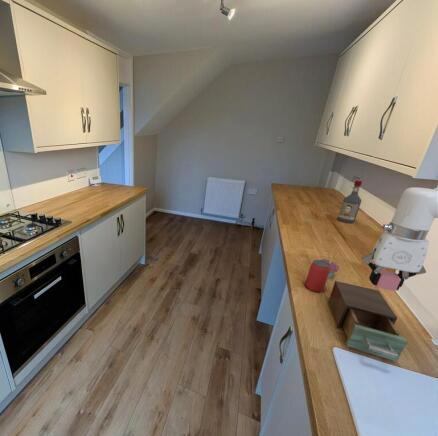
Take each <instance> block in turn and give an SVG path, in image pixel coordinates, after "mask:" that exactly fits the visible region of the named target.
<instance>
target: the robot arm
mask: <svg viewBox="0 0 438 436" xmlns="http://www.w3.org/2000/svg"><path fill="white" fill-rule="evenodd" d="M435 219H438V186H437V187H434V188H433V189H432V188H427V187H407V188H406V189H404V190H403V192H402V193H401V196H400V199H399V201H398V204H397V207H396V208H395V212H394V214H393V217H392V219H391V221H390V222H389V223H388V224H385V223H384V224H382V230H383V231H384V232H383V233H382V234H381V235H380V236H379V238H378V239H377V241H376V243H375V245H374V247H373V248H372V251H371V252H370V253H368V254H366V255H364V256H363V257H361V261H363V263H364V264H366V265H367V266H368V267H369V268H370V269H371V272H370V274H369V277H368V279H369V281H370V282H371V284H372V285H373V286H376V284H377V282H378V280H379V277H380V274H379V272H380V271H381V270H382V269H383V268H385V269H391V270H396V271H398V273H396V274H397V275H398V276H399V277H400V278H401V281H400V283H399V285H398V287H397V289H396V291H399V289H400V288H402V287H403V284H404V283H405V281H406V280H409V278H412V277H415V276H418V275H423V274H426V273H427V270H426V268H425V267H424V263H425V260H426V257H427V254H428V250H429V249H428V248H429V240H428V239H426V238H427V235H428V234H429V231H430V229H431V227H432V225H433V223H434V221H435ZM372 260H373V261H372ZM383 270H384V269H383Z"/></svg>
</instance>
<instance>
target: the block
mask: <svg viewBox="0 0 438 436" xmlns="http://www.w3.org/2000/svg"><path fill="white" fill-rule="evenodd" d="M379 274H380V277H379V280H378V282H377V284H376V285H375V287H376V288H379V289H382V290H387V291H392V292H397V290H396V289H397V287H398V285H399V283H400V281H401V278H400V277H399V276H398V275H397V274H398V273H397V272H396V271H391V270H389V269H382V270H381V271H380V272H379Z"/></svg>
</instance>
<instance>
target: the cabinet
mask: <svg viewBox="0 0 438 436" xmlns="http://www.w3.org/2000/svg"><path fill="white" fill-rule="evenodd" d="M327 302H328V305H329V308H330V311H331V315H332V318H333V320H334V323H335V326H336V328H337V329H340V330H344V328H343V325H342V322H343V319H344V316H345V314H346V311H347V309H348V308H352V309H356V310H360V311H364V312H367V313H371V314H375V315H379V316H383V317H387V318H390V320H391V321H392V323H393V324H394V325H395V324H396V322H397V320H398V317H397V315H396V314H395V312H394V311H393V309H392V307H391V306H390V305H389V303H388V302H387V300H386V299H385V297H384V296H383V295H382V293H381V291H380V290H379V289H374V288H370V287H364V286H361V285H356V284H351V283H346V282H343V281H337V280H335V281H334V283H333V287H332V289H331V292H330V295H329V298H328V300H327Z"/></svg>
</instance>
